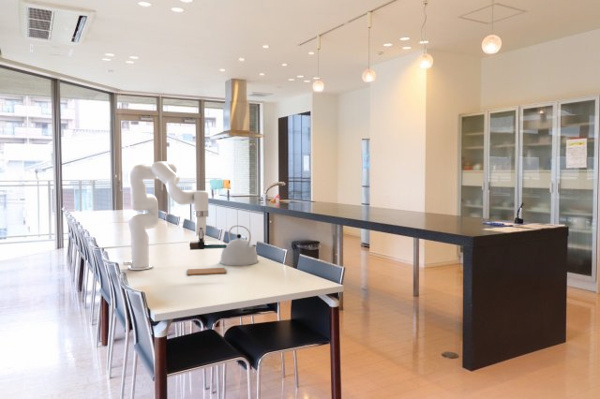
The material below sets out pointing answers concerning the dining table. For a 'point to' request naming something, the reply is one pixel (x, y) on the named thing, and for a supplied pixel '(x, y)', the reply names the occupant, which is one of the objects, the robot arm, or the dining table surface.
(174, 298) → the dining table surface
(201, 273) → the cork mat
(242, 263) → the kettle
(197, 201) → the robot arm
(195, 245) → the brush
